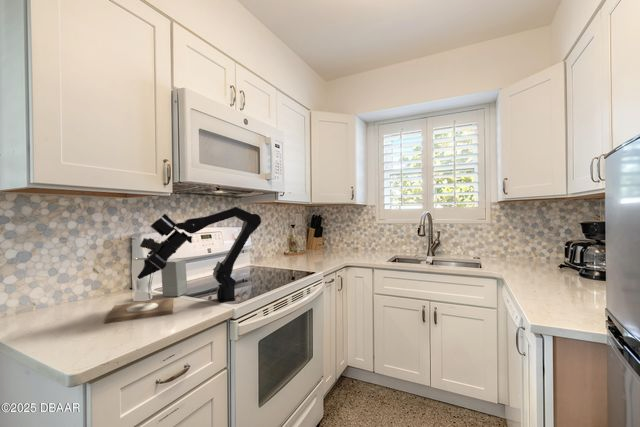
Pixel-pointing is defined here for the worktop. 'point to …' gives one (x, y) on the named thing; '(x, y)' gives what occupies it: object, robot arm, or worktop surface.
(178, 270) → the skincare box
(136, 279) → the beer glass
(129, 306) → the walnut board
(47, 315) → the worktop surface
